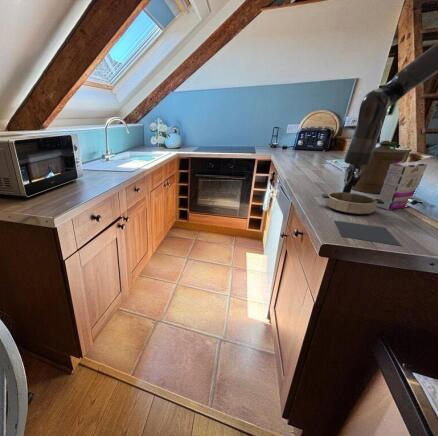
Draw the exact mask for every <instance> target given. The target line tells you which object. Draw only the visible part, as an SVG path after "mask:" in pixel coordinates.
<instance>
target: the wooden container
mask: <svg viewBox="0 0 438 436" xmlns="http://www.w3.org/2000/svg"><path fill="white" fill-rule="evenodd" d="M390 142H391V141H390V140H381V141H380V142H379V145H378V146H379V147H377V148H375V150H374V153H373V155H372V158H371V161H370V163H369V164H368V165H362V166H361V170H362V172H361V174H360V175H361V178H360V179H359V181H358V182H357V184H356V185H355V186H353V187H352V189H351V190H353V189H354V191H357V192H360V193H366V192H367V194H375V193H376V194H377V193H380V192H381V189H382V186H383V184H384V180H385V177H386V174H387V172H388V169H389V166H390V164H395V163H403V159H404V158H405V155H406V153H407V150H404V149H397V148H395V149H391V148H390V147H389V145H390ZM377 195H378V194H377Z"/></svg>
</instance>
